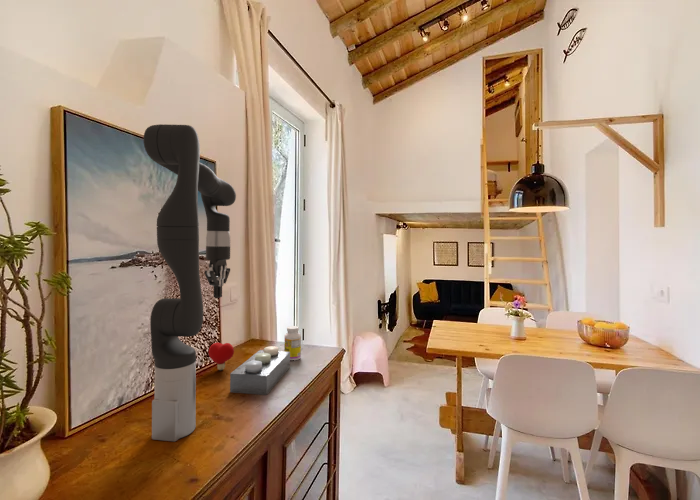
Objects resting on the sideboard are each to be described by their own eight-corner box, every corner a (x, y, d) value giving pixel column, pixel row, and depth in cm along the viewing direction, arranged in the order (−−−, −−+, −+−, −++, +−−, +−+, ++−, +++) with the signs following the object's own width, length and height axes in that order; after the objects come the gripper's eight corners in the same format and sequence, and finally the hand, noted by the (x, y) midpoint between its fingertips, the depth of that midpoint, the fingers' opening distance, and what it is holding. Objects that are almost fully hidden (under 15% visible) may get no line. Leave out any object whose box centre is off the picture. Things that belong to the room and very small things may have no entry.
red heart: (237, 367, 131) (237, 341, 130) (229, 374, 124) (229, 346, 123) (213, 366, 132) (213, 340, 131) (204, 373, 125) (204, 345, 124)
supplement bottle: (282, 356, 143) (282, 326, 143) (298, 354, 146) (298, 324, 146) (286, 362, 137) (287, 330, 137) (302, 360, 140) (303, 328, 140)
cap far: (275, 364, 125) (275, 350, 125) (261, 363, 126) (261, 350, 126) (280, 359, 130) (280, 346, 130) (266, 359, 131) (267, 345, 131)
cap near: (258, 382, 109) (258, 366, 109) (242, 381, 110) (242, 365, 110) (264, 376, 115) (264, 361, 114) (249, 375, 115) (249, 360, 115)
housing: (266, 395, 108) (266, 375, 108) (230, 392, 109) (230, 373, 109) (289, 367, 131) (290, 351, 131) (259, 365, 133) (259, 350, 133)
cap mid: (267, 372, 117) (267, 358, 117) (252, 371, 118) (252, 357, 118) (272, 367, 123) (272, 353, 122) (258, 366, 123) (258, 352, 123)
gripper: (218, 245, 107) (218, 301, 107) (238, 245, 120) (237, 295, 120) (196, 245, 108) (195, 300, 108) (217, 244, 121) (217, 294, 121)
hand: (217, 297), depth 114 cm, fingers closed
